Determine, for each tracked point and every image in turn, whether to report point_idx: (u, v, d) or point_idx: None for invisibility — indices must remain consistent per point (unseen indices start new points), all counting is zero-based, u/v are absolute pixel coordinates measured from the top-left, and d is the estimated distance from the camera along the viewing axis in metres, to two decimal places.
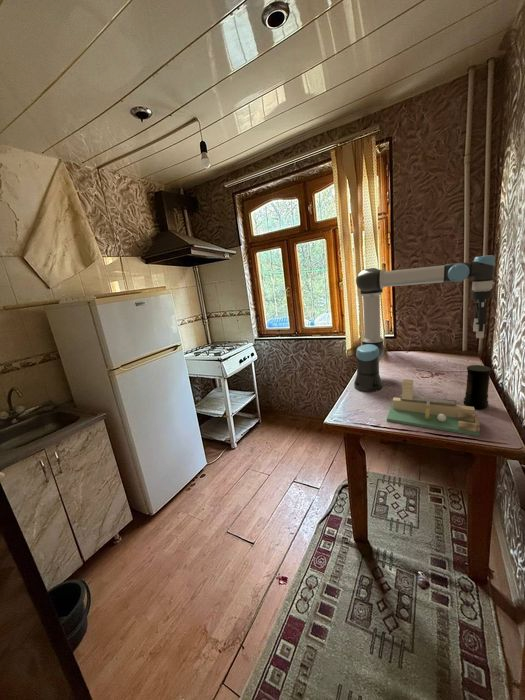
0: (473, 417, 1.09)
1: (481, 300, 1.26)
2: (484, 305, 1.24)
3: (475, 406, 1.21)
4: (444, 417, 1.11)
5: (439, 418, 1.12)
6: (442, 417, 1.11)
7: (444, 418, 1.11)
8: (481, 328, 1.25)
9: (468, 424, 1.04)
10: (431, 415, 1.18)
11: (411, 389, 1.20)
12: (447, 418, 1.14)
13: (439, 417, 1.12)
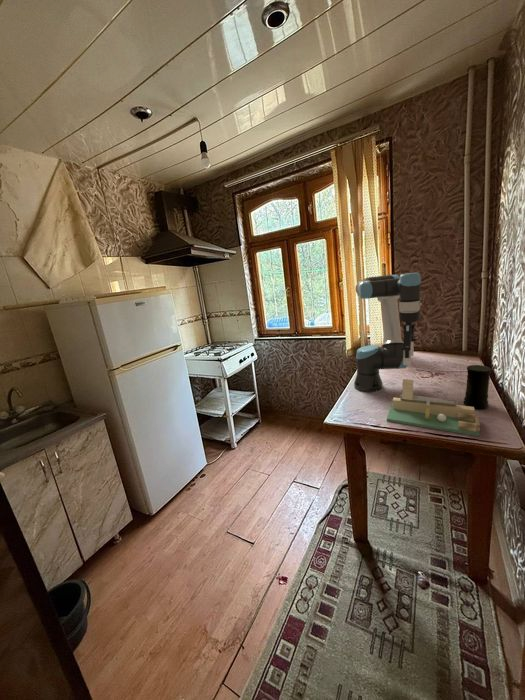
0: (473, 417, 1.09)
1: (407, 323, 1.12)
2: (409, 328, 1.09)
3: (475, 406, 1.21)
4: (444, 417, 1.11)
5: (439, 418, 1.12)
6: (442, 417, 1.11)
7: (444, 418, 1.11)
8: (407, 355, 1.11)
9: (468, 424, 1.04)
10: (431, 415, 1.18)
11: (411, 389, 1.20)
12: (447, 418, 1.14)
13: (439, 417, 1.12)
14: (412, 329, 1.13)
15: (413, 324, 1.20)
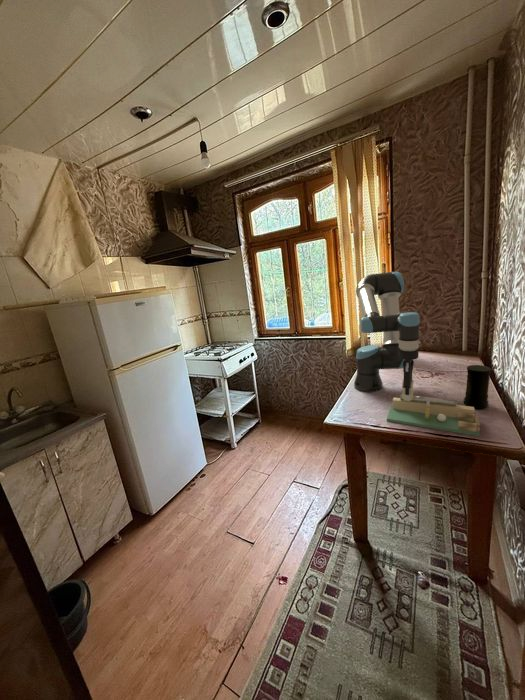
0: (473, 417, 1.09)
1: (406, 360, 1.16)
2: (408, 370, 1.15)
3: (475, 406, 1.21)
4: (444, 417, 1.11)
5: (439, 418, 1.12)
6: (442, 417, 1.11)
7: (444, 418, 1.11)
8: (407, 392, 1.20)
9: (468, 424, 1.04)
10: (431, 415, 1.18)
11: (411, 389, 1.20)
12: (447, 418, 1.14)
13: (439, 417, 1.12)
14: (411, 367, 1.17)
15: None
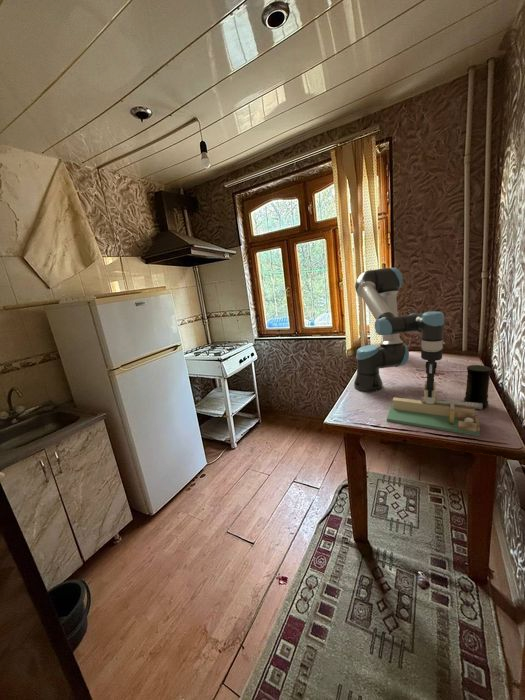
0: (473, 417, 1.09)
1: (430, 362, 1.12)
2: (432, 372, 1.10)
3: None
4: (469, 420, 1.07)
5: None
6: (468, 421, 1.07)
7: (470, 420, 1.06)
8: (430, 394, 1.15)
9: (468, 424, 1.04)
10: (431, 415, 1.18)
11: (434, 391, 1.16)
12: (447, 418, 1.14)
13: None
14: (435, 368, 1.13)
15: None
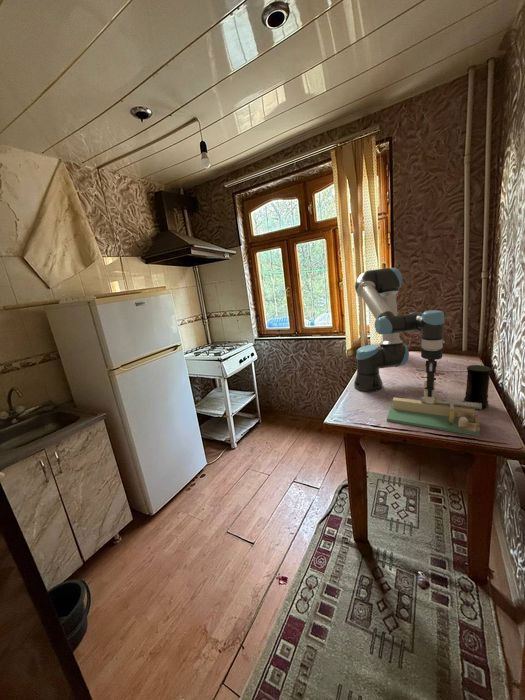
0: (473, 417, 1.09)
1: (430, 360, 1.11)
2: (432, 369, 1.09)
3: None
4: (460, 420, 1.09)
5: None
6: None
7: (461, 420, 1.08)
8: (430, 394, 1.13)
9: (468, 424, 1.04)
10: (431, 415, 1.18)
11: None
12: (447, 418, 1.14)
13: None
14: (435, 367, 1.12)
15: None
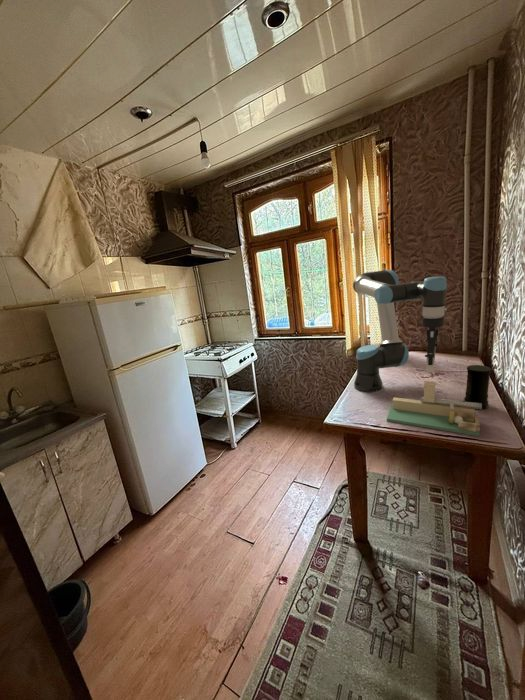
0: (473, 417, 1.09)
1: (431, 329, 1.08)
2: (433, 335, 1.06)
3: None
4: (455, 422, 1.10)
5: None
6: (456, 423, 1.09)
7: (455, 421, 1.09)
8: (430, 361, 1.08)
9: (468, 424, 1.04)
10: (431, 415, 1.18)
11: (433, 391, 1.16)
12: (447, 418, 1.14)
13: None
14: (436, 335, 1.09)
15: None
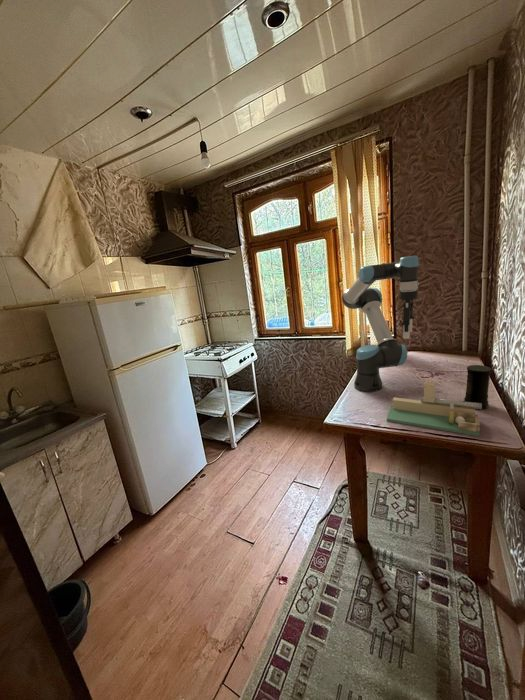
0: (473, 417, 1.09)
1: (407, 300, 1.26)
2: (408, 305, 1.24)
3: None
4: (456, 421, 1.09)
5: None
6: (457, 422, 1.09)
7: (456, 421, 1.09)
8: (406, 328, 1.25)
9: (468, 424, 1.04)
10: (431, 415, 1.18)
11: (433, 391, 1.16)
12: (447, 418, 1.14)
13: None
14: (411, 306, 1.27)
15: None
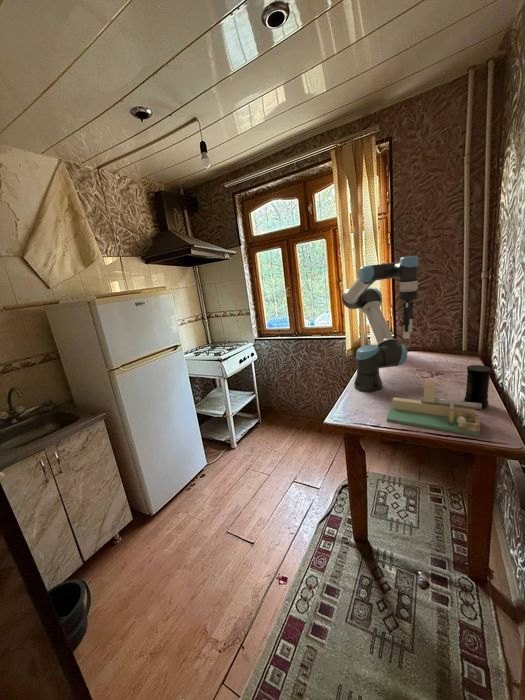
0: (473, 417, 1.09)
1: (407, 300, 1.26)
2: (408, 305, 1.24)
3: None
4: (457, 420, 1.09)
5: None
6: None
7: (458, 420, 1.09)
8: (406, 328, 1.26)
9: (468, 424, 1.04)
10: (431, 415, 1.18)
11: (433, 391, 1.16)
12: (447, 418, 1.14)
13: None
14: (411, 306, 1.27)
15: None
